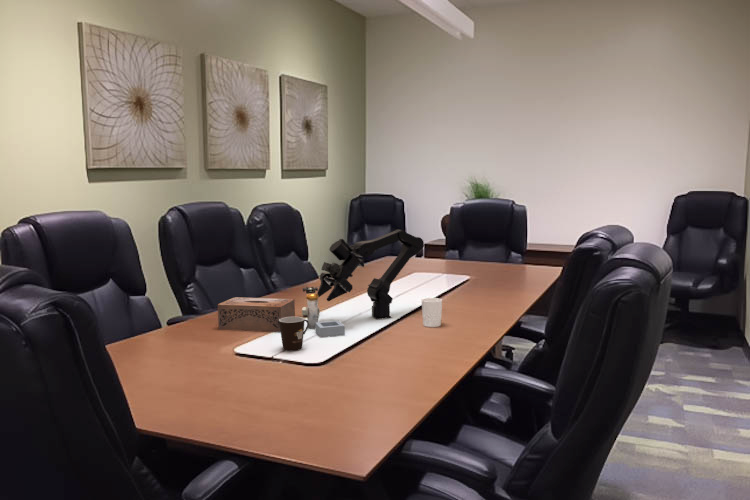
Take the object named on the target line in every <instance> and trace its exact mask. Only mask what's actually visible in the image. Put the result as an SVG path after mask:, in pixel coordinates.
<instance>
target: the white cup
mask: <svg viewBox="0 0 750 500" xmlns="http://www.w3.org/2000/svg"><path fill="white" fill-rule="evenodd" d="M421 311H422V312H421V313H422V314H421V315H422V325H423V327H426V328H438V327H441V325H442V324H441V323H442V313H443V312H442V311H443V299H442V298H438V297H426V298H422V299H421Z"/></svg>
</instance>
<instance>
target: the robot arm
mask: <svg viewBox="0 0 750 500" xmlns="http://www.w3.org/2000/svg"><path fill="white" fill-rule="evenodd" d="M397 242H399V243H400V244H401V249H400V252H399V253H398V254H397V256H396V257H395V259H393V261H392V263H391V264H390V265H389V267H388V268H387V269H386V270H385V272H383V274H382V276H381V277H380V278H375V277H374V278H373V279H372V281H371V282H370V283H369V284H368V285H367V286H368V288H367V289H366V291H367V296H368V297H369V298H370V301H371V302H372V305H371V317H372V318H374V319H376V320H380V319H382V318H383V319H392V316H391V312H390V311H391V308H390V307H391V305H390V304H392V302H393V297H392V296H391V295H390V294H389V292H390V289H391V285H392V283H393V282H394V281H395V279H396V278H397V276H398V275H399V274H400V272H401V271H402V270H403V268H404V267H405V266H406V264H407V263H408V262H409V260H410V259H411V258H412V257H414V256H416V255H418V254H419V253H420V252H421V251H422V250H423V248H424V247H425V245H424V243H425V242H424V240H423V239H422V238H421V237H420V236H415V235H412V234H410V233H408V232H406V231H404V230H403V229H395V230H393V231H391V232H388V233H386V234H383V235H381V236H378V237H377V238H373V239H370V240H369V239H368V240H361V241H356V242H355V243H354V244H353V245H350V246H349V244H348V243H347V242H346V240H344V239H343V238H339V240H336V241H335V242H334V243H332V244H331V246H330V247H329V249H328V250H329V252H331V254H332V255H333V256H334V257H335V258H336V259H337V260H339V261H342V262H341V263H340V264H338V263H337V262H332V263H329V262H326V261H324V262H323V264H322V266H321V271H324V272H321V273H320V275H319V276H318V277H319V280H320V285H319V288H318V291H316V292H317V294H318V298H320V297H321V296H323V295H324V294H326V293H327V292H329V291H330V290H331V289H332V290H331V291H330V293H329V294H328V296H327V298H326V301H327V302H330V301H333V300H334V299H337V298H338V297H341V296H343V295H345V294H348V293H351V291H352V290H353V285H352V283H351V282H350V281H349V280H348V279H349V278H353V273H354V272H355V271H356V270H357V268H358V267H361V268H365V260H364V259H360V258H368V257H370V256H372V255H373V254H374V253H375V252H376V251H377V250H379V249H382V248H384V247H386V246H389V245H392V244H394V243H397ZM359 257H360V258H359Z"/></svg>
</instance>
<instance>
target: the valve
mask: <svg viewBox="0 0 750 500" xmlns="http://www.w3.org/2000/svg"><path fill="white" fill-rule="evenodd" d="M318 290H319V288H318V287H317V286H316V287H314V286H310V287H309V286H306V287H302V292H303V293H304V292H305V293H306V294H309V293H316V292H318ZM301 315H302V316H303V317H308V310H307V306H303V307H302V309H301ZM319 316H320V307H318V317H319Z"/></svg>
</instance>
